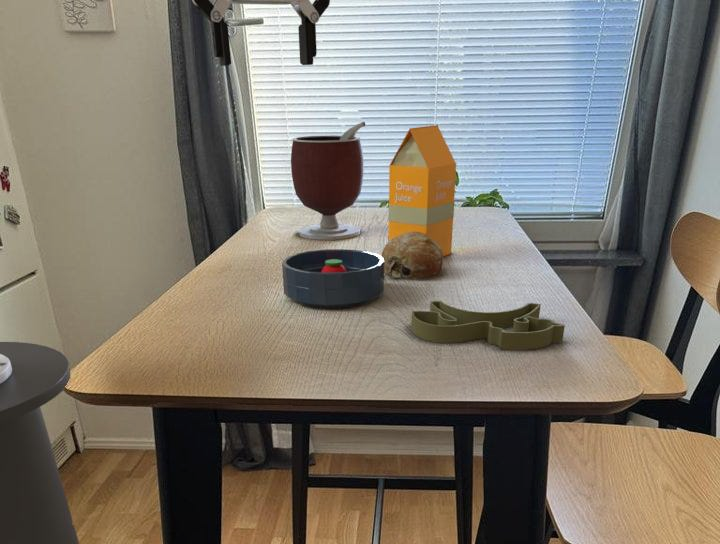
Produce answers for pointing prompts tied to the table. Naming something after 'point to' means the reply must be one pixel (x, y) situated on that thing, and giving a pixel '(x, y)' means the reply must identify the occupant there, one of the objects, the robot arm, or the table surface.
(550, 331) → the cookie cutter
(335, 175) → the mate gourd
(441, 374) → the table surface
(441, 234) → the orange juice
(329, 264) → the red green jar
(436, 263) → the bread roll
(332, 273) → the bowl
